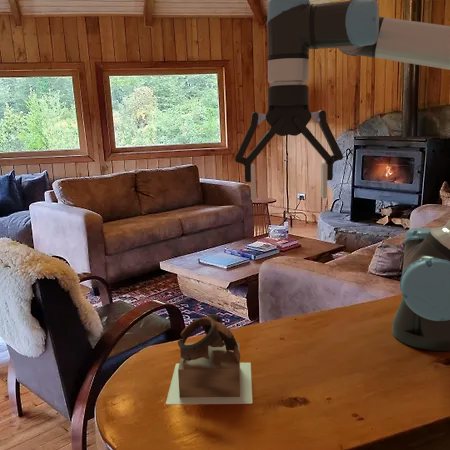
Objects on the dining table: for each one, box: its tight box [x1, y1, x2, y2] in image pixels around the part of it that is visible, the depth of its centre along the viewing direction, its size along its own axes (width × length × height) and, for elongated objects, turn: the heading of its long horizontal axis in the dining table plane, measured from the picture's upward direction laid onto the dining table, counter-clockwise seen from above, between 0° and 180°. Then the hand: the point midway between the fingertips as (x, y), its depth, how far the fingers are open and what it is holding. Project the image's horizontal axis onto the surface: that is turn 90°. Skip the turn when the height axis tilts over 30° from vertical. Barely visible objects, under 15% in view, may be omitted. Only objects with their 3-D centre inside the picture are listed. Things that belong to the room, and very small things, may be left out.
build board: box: [165, 362, 253, 405], centre depth 91 cm, size 14×14×2 cm
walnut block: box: [178, 341, 241, 397], centre depth 91 cm, size 10×10×5 cm
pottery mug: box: [177, 313, 241, 363], centre depth 89 cm, size 12×10×8 cm
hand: (288, 198), depth 101 cm, fingers open, 13 cm apart
